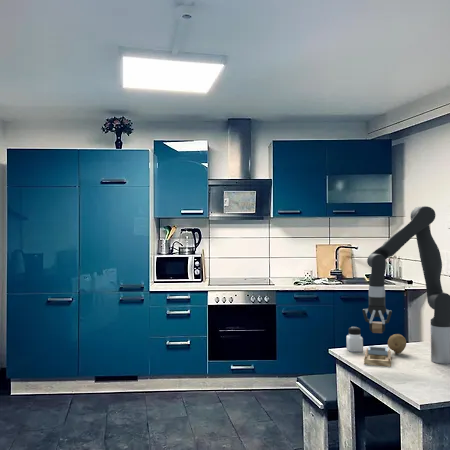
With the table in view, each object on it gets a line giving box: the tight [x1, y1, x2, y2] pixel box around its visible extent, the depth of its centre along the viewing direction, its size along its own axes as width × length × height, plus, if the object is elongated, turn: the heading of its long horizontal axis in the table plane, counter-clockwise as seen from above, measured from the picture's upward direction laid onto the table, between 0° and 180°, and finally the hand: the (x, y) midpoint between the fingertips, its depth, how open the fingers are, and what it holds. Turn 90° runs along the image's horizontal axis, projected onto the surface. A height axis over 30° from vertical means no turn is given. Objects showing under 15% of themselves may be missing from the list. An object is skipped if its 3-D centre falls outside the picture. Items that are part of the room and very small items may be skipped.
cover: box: [367, 345, 389, 355], centre depth 240 cm, size 9×8×4 cm
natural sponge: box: [387, 333, 407, 355], centre depth 249 cm, size 9×9×10 cm
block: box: [371, 321, 383, 334], centre depth 232 cm, size 4×4×4 cm
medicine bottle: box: [346, 326, 364, 353], centre depth 256 cm, size 7×7×12 cm
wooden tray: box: [363, 347, 392, 368], centre depth 236 cm, size 12×19×4 cm, turn 161°
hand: (377, 331), depth 232 cm, fingers closed on block, 4 cm apart
